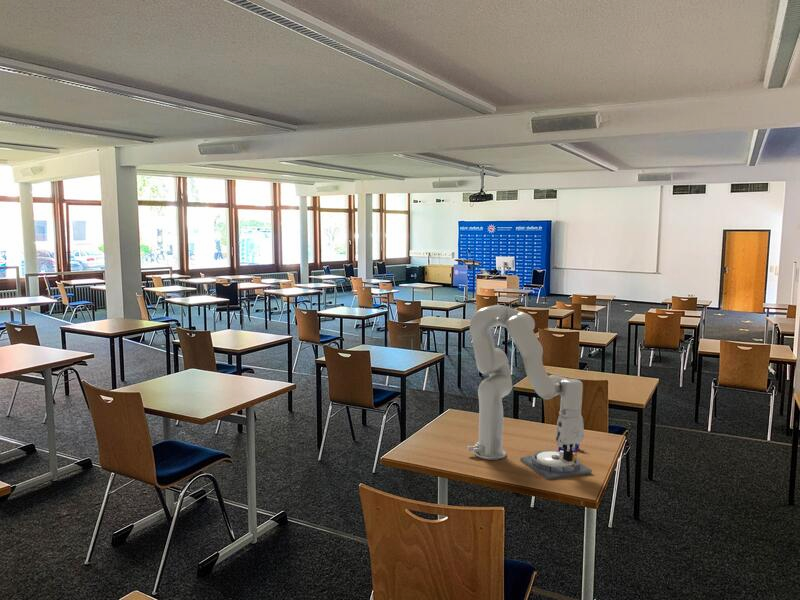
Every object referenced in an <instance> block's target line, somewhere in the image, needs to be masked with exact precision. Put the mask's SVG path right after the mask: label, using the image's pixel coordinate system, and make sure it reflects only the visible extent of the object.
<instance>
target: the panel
mask: <svg viewBox="0 0 800 600" xmlns="http://www.w3.org/2000/svg"><path fill="white" fill-rule="evenodd" d="M549 451H552V452H560V451H558V450H550V449H548V450H546V449H545V450H539V451H538V450H537V451H536V452H534V453H532V454H531V455H528V456H527V455H526V456H520V462H522V463H523V464H525V465H526V466H527V465H528V466H527V467H529V468H530V469H532V470H533V471H535V472H536V473H537V474H539V475H540V476H542V477H543V478H545V479H546V480H554V479H561V478H562V479H563V478H569V477H577V476H584V475H592V474H593V473H592V472H593V470H592V469H591V468H590V467H588V466H586V465H584V464H583V463H582V462H580V458H579V457H577V456H576V455H575V464H574V465H571V466H570V465H568V466H563V467H561V466H551V465H547V464H544V463H541V462H539V461H538V460H537V455H538V454H539V453H541V452H549ZM591 473H592V474H591Z"/></svg>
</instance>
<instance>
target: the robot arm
mask: <svg viewBox="0 0 800 600" xmlns="http://www.w3.org/2000/svg"><path fill="white" fill-rule="evenodd" d="M535 322H536V321H535V319H534V318H533V316H531V314H528V313H527V312H523V311H521V310H518V309H515V308H512V307H509V306H506V305H502V304H494V305H489V306H485V307H481V308H480V309H478V310H477V311H476V312H475V313H474V314H473V315H472V316H471V319H470V322H469V332H470V336H471V341H472V347H473V352H474V353H473V354H474V357H475V359H474V360H475V364H476V368H477V370H478V372H479V373H481V374H483V375H488V376H489V377H486V378H485V379H483V380H482V381H481V382H480V383H479V385H478V389H477V395H478V407H479V409H478V410H479V413H478V440H477V441H476V442H475V444H474V445H468V446H466V450H467V451H468V452H471V451H472V452H473V455H475V456H476V457H477V458H480V459H483V460H491V461H496V460H502V459H504V458H506V455H507V452H506V451H505V450H504V449H503V435H504V434H503V433H504V431H503V429H504V405H503V398H505V397H506V396H508V395H509V394H510V393H511V391H512V389H513V381H512V374H511V369H510V363H509V359H508V356H507V354H506V353H505V351H504V350H502V349H501V348H499V347H496V345H495V339H494V337H493V334H492V332H491V330H492V329H493V328H495V327H503V328H506V330H507V331H506V332H507V333H508V334H509V336H510V338H511V339H512V342H513V343H514V345H515V346H516V348H517V350H518V351H519V353H520V356H521V358H522V361H523V365H524V370H525V374H526V377H527V379H528V381H529V383H530V384H531V386H532V388H533V390H534V391H535V393H536V395H538V396H539V397H540V398H542V399H544V400H551V399H553V398H554V397H556V396H560V407H559V409H560V410H559V411H558V414H559V415H558V418H557V422H556V429H555V440H556V447H558V448H559V447H562V449H564V452H563V459H564V460H566V461H568V462H570V461H572V458H573V451H574V449H575V446H576V445H577V444H579V445H580V444H581V443H582V442H584V437H585V435H584V434H585V433H584V432H585V431H584V430H585V429H584V428H585V426H584V418H583V416H582V406H583V405H582V404H583V388H584V386H583V385H584V384H583V382H582V381H581V380H579V379H577V378H567V377H565V376H561V375H557V374H550V375H549V373H547V371H546V368H545V366H544V364H543V363H544V362H543V353H544V349H543V346H542V344H541V342H540V340H539V339H538V337H537V336H536V334H535V331H534V330H535V327H536V323H535Z"/></svg>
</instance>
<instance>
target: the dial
mask: <svg viewBox="0 0 800 600" xmlns="http://www.w3.org/2000/svg"><path fill="white" fill-rule="evenodd" d="M552 451H553V450H550V451H549V452H541V453H539V454H538V455H537V460H538V461H539V462H541V463H544V464H547V465H551V466H561V467H563V466H568V465H570V466H571V465H574V464H575V456H576V452H575V453H573V458H572V461H570V462H568V461H566V460H564V459H563V452H564V451H561V450H560V452H552Z"/></svg>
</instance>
